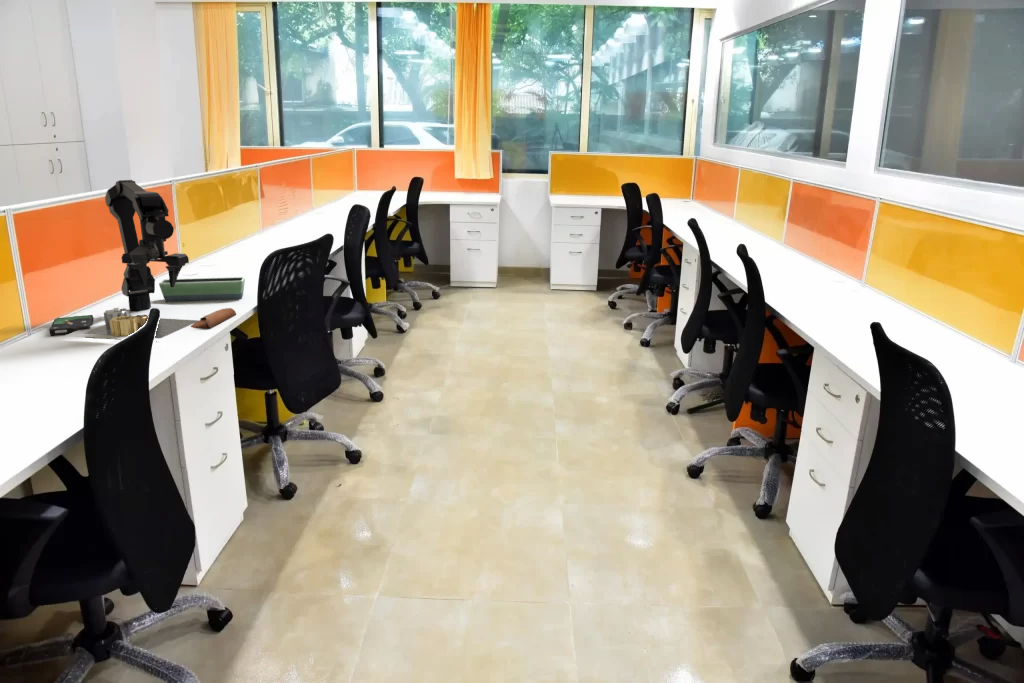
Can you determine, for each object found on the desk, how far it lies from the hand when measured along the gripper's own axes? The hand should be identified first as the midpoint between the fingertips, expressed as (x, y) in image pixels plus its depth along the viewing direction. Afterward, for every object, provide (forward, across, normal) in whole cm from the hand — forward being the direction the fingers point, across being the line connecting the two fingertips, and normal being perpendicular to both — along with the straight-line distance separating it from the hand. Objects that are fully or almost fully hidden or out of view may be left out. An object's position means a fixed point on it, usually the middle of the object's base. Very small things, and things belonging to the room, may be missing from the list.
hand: (158, 286), depth 221 cm
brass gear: (+11, -2, -15) cm, 19 cm away
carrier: (+12, -1, -8) cm, 14 cm away
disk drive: (+13, -23, -10) cm, 28 cm away
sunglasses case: (+13, +15, +2) cm, 20 cm away
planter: (+12, -6, +33) cm, 36 cm away
